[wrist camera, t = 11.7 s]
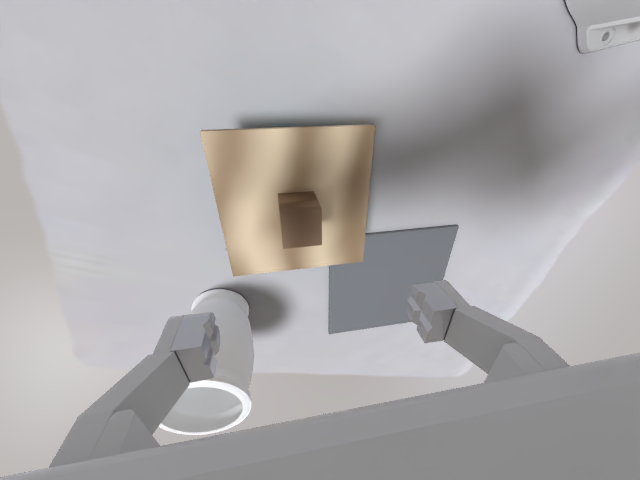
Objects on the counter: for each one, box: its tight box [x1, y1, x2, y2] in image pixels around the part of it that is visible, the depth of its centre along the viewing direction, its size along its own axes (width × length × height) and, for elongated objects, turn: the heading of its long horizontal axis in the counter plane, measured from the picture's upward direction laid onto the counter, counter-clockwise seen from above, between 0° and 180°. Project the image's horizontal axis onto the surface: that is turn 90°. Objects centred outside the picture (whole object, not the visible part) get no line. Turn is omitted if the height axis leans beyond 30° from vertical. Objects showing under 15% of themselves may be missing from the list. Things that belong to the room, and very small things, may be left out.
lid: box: [200, 124, 375, 276], centre depth 24 cm, size 15×15×5 cm
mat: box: [329, 225, 459, 334], centre depth 43 cm, size 20×20×1 cm
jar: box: [158, 289, 254, 435], centre depth 34 cm, size 11×10×15 cm
